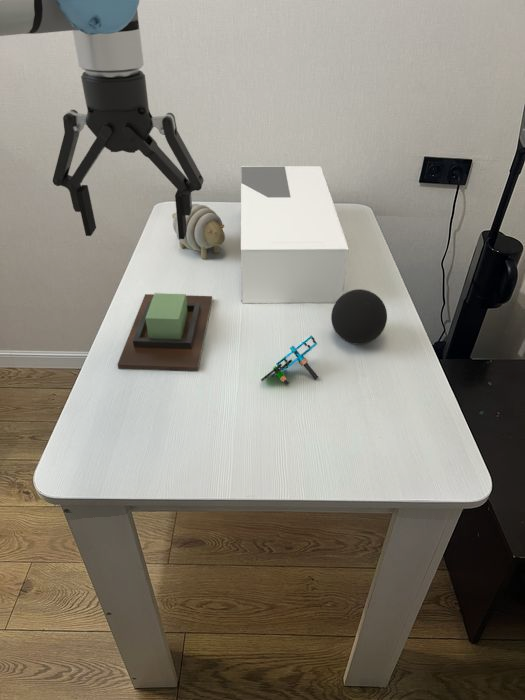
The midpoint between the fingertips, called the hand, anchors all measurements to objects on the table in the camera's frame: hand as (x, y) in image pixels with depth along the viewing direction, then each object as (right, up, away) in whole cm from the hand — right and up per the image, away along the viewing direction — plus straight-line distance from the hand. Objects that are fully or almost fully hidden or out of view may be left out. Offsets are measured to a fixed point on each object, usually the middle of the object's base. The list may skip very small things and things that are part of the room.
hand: (137, 233), depth 72 cm
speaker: (+36, -15, +21) cm, 44 cm away
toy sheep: (+3, +7, +47) cm, 47 cm away
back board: (+1, -14, +21) cm, 25 cm away
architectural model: (+24, +7, +46) cm, 53 cm away
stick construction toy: (+24, -22, +12) cm, 35 cm away
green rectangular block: (+1, -13, +21) cm, 24 cm away
